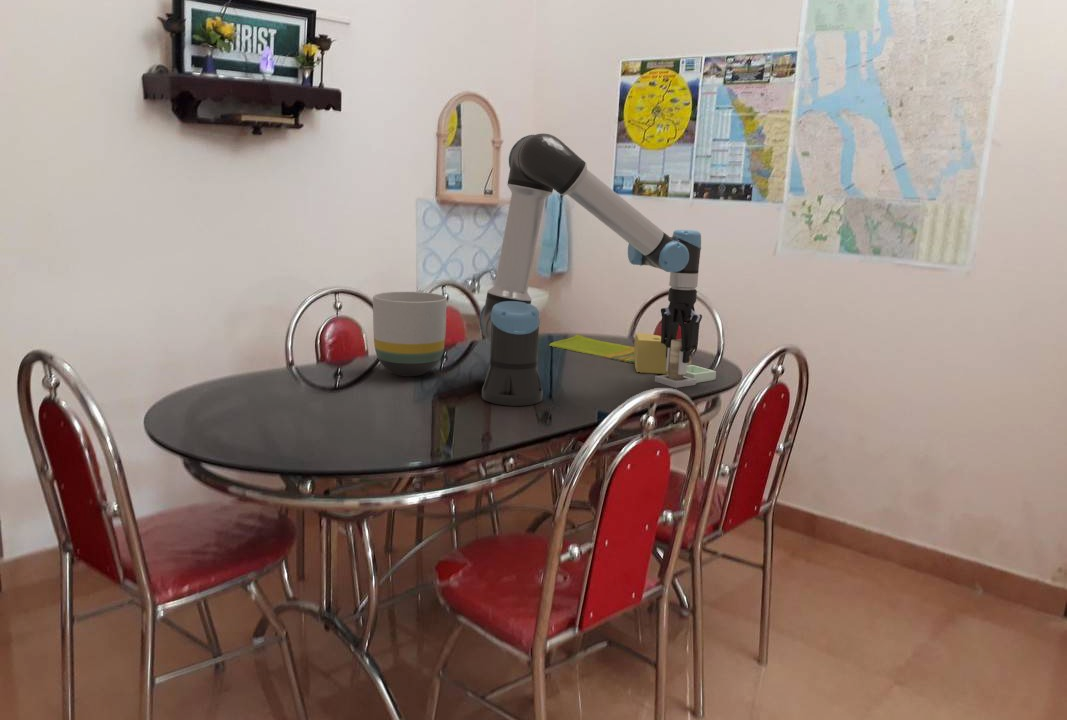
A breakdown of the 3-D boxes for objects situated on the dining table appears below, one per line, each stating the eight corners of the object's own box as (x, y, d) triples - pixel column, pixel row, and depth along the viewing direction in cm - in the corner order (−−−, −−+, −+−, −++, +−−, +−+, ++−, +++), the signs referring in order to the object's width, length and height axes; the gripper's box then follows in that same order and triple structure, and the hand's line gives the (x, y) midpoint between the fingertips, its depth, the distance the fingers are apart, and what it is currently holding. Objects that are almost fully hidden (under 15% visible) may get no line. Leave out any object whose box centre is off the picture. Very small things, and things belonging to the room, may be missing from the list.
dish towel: (639, 367, 252) (639, 356, 251) (547, 348, 275) (548, 338, 274) (666, 360, 264) (667, 350, 263) (576, 342, 286) (577, 333, 285)
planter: (423, 363, 242) (424, 290, 237) (458, 378, 226) (460, 299, 222) (360, 370, 230) (360, 293, 226) (393, 385, 215) (393, 303, 210)
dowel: (674, 385, 229) (678, 342, 226) (665, 382, 232) (668, 339, 229) (685, 383, 231) (689, 341, 228) (675, 380, 234) (679, 338, 231)
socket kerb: (675, 387, 226) (675, 382, 226) (654, 381, 232) (655, 376, 232) (696, 384, 231) (696, 379, 230) (675, 378, 237) (675, 373, 236)
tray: (693, 383, 232) (694, 374, 231) (670, 376, 239) (670, 367, 239) (715, 379, 237) (716, 371, 237) (692, 373, 244) (692, 364, 244)
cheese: (667, 367, 251) (669, 334, 249) (670, 375, 241) (673, 341, 239) (632, 365, 252) (634, 332, 250) (634, 373, 241) (637, 339, 239)
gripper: (716, 291, 221) (708, 377, 226) (670, 283, 235) (664, 364, 240) (696, 292, 217) (689, 380, 222) (651, 284, 230) (645, 367, 235)
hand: (676, 372), depth 231 cm, fingers closed on dowel, 4 cm apart
